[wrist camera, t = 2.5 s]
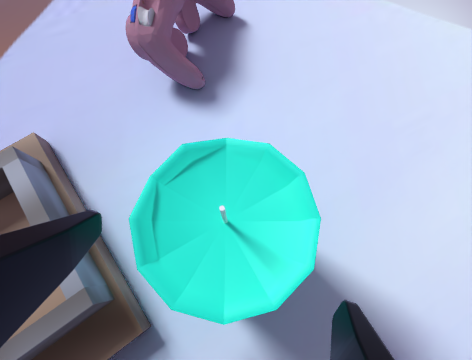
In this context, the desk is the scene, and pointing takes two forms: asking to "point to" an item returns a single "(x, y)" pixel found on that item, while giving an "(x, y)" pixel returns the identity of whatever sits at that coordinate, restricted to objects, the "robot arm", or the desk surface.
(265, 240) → the candle
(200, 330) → the desk surface
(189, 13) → the video game controller
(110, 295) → the holder base
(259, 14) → the desk surface
